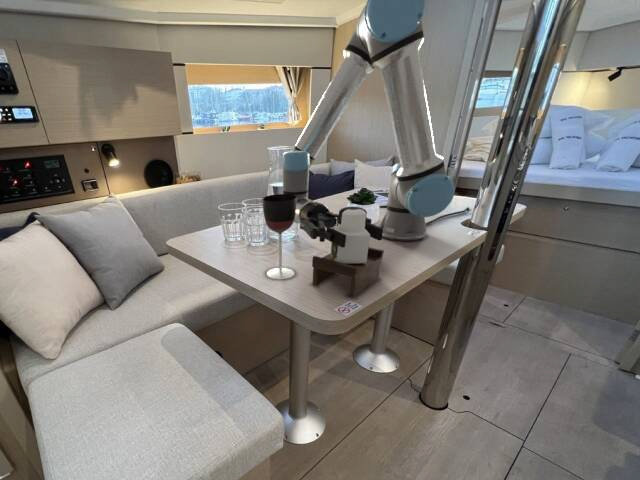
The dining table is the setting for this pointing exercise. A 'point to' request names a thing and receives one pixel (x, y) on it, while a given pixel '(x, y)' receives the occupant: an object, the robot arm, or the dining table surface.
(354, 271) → the stand
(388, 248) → the dining table surface
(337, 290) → the dining table surface
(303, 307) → the dining table surface
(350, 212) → the medicine bottle
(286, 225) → the wineglass
